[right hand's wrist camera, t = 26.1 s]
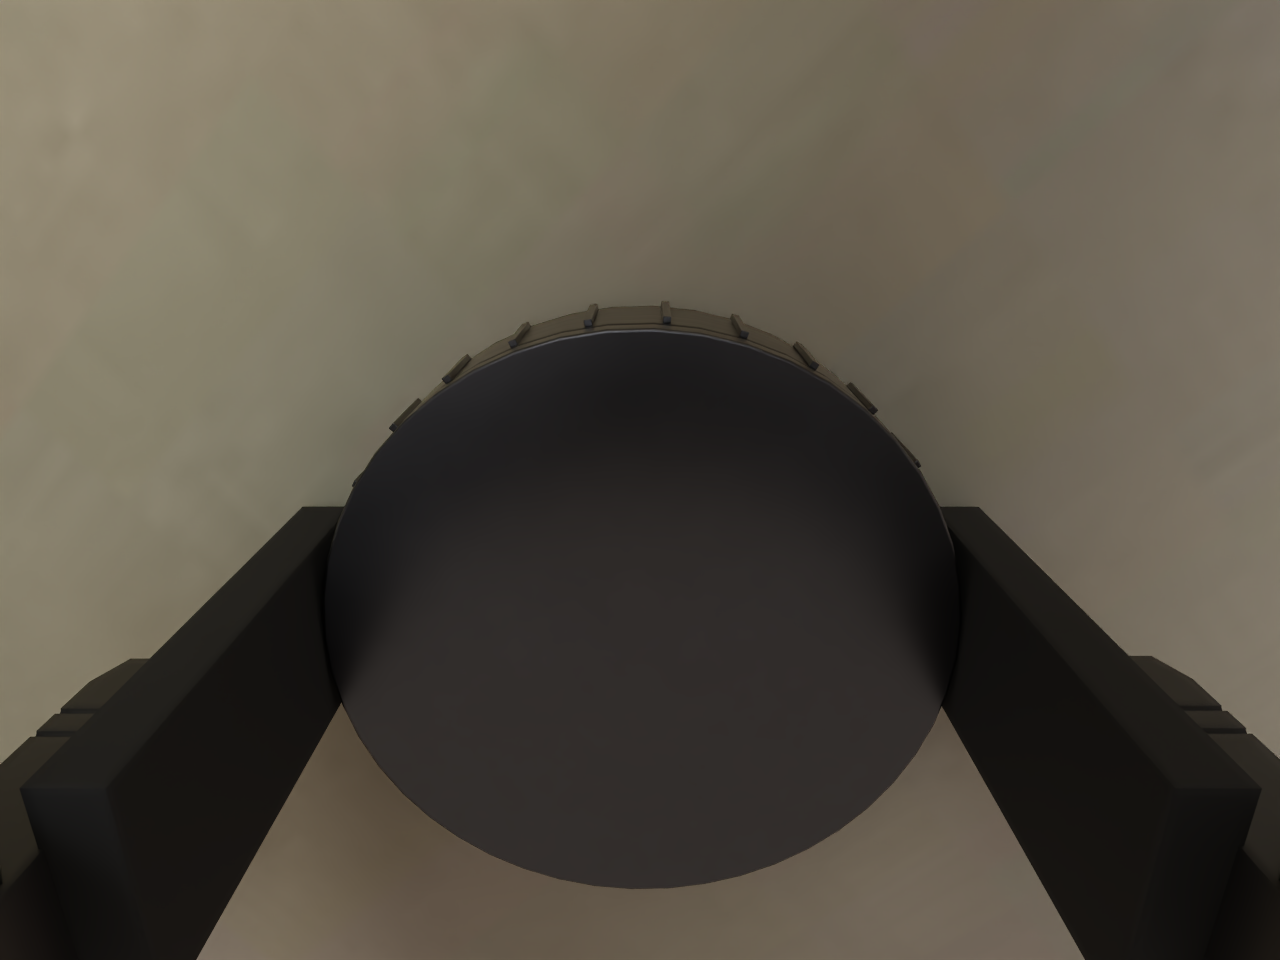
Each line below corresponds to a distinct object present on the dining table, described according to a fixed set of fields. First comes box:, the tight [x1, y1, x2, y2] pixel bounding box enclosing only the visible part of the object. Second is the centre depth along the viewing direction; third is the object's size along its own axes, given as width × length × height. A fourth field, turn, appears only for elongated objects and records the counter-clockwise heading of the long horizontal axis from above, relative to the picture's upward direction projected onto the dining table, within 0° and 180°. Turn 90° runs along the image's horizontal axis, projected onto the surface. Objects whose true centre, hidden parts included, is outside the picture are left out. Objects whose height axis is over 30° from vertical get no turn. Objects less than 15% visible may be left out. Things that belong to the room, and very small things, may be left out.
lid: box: [323, 301, 961, 889], centre depth 13 cm, size 9×9×2 cm
